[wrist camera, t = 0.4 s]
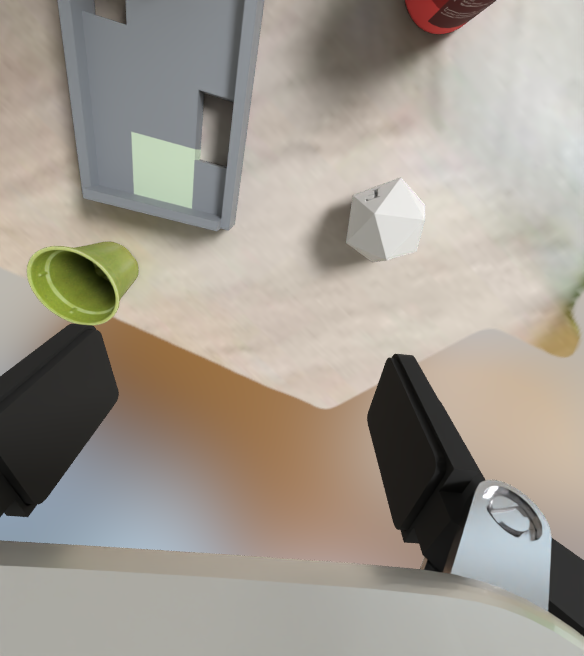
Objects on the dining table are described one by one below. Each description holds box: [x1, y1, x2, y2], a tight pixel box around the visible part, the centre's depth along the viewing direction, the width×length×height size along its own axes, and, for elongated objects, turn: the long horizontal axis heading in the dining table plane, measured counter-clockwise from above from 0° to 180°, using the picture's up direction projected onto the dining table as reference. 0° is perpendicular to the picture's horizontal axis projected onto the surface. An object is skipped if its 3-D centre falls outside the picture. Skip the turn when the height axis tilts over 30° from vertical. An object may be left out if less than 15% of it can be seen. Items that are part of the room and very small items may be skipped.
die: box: [346, 177, 425, 262], centre depth 32 cm, size 8×9×10 cm
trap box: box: [57, 0, 264, 231], centre depth 26 cm, size 26×16×5 cm, turn 166°
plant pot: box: [27, 242, 138, 325], centre depth 35 cm, size 9×9×9 cm
